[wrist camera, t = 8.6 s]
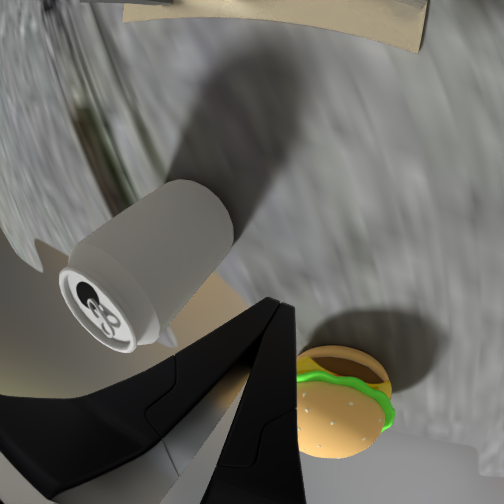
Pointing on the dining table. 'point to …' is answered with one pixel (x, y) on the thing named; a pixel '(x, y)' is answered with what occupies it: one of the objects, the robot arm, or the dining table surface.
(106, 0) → the block
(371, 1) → the beige mechanical fixture
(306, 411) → the hamburger
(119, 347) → the can
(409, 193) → the dining table surface
